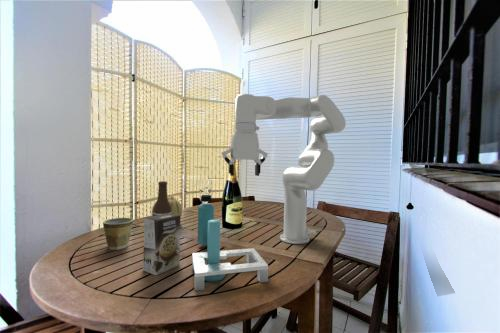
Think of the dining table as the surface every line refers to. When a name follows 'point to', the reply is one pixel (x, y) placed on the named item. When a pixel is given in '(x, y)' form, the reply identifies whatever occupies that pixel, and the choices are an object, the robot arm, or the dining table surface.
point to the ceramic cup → (117, 232)
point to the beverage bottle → (204, 219)
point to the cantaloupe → (173, 206)
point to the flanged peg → (213, 248)
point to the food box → (161, 243)
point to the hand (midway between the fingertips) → (244, 175)
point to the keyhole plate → (228, 265)
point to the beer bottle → (162, 201)
